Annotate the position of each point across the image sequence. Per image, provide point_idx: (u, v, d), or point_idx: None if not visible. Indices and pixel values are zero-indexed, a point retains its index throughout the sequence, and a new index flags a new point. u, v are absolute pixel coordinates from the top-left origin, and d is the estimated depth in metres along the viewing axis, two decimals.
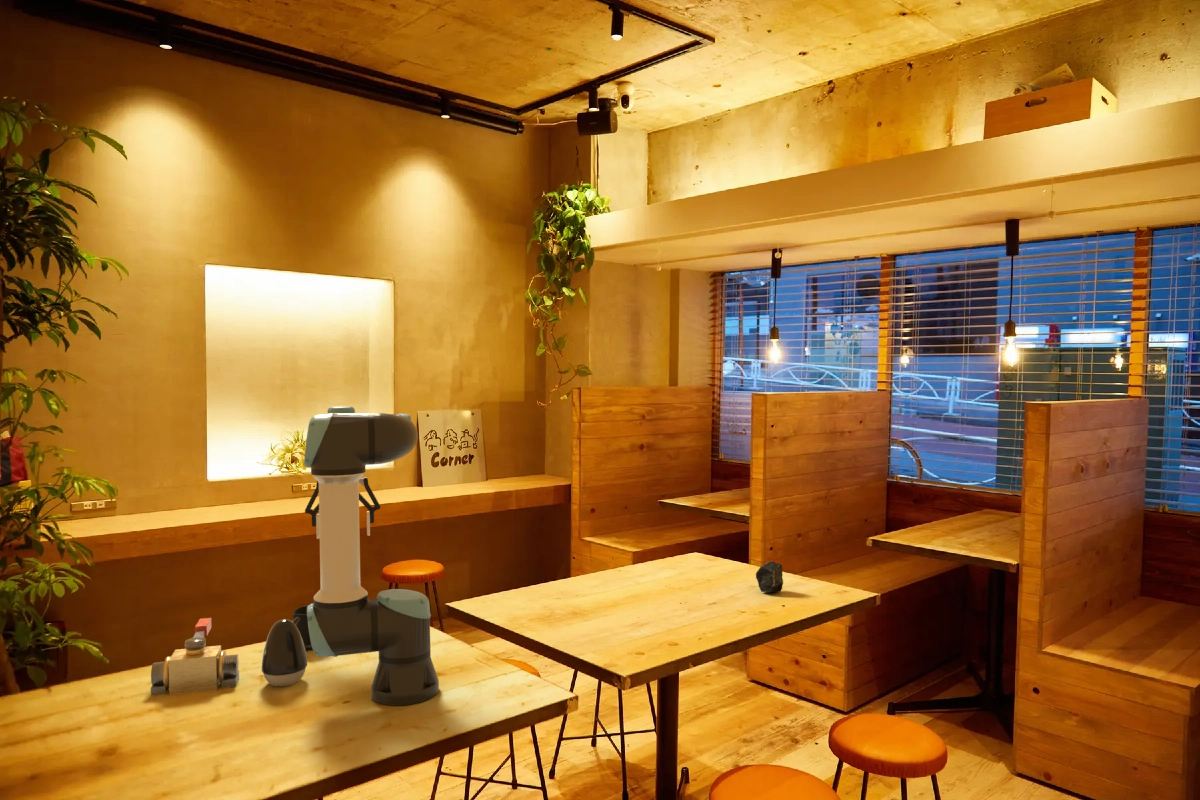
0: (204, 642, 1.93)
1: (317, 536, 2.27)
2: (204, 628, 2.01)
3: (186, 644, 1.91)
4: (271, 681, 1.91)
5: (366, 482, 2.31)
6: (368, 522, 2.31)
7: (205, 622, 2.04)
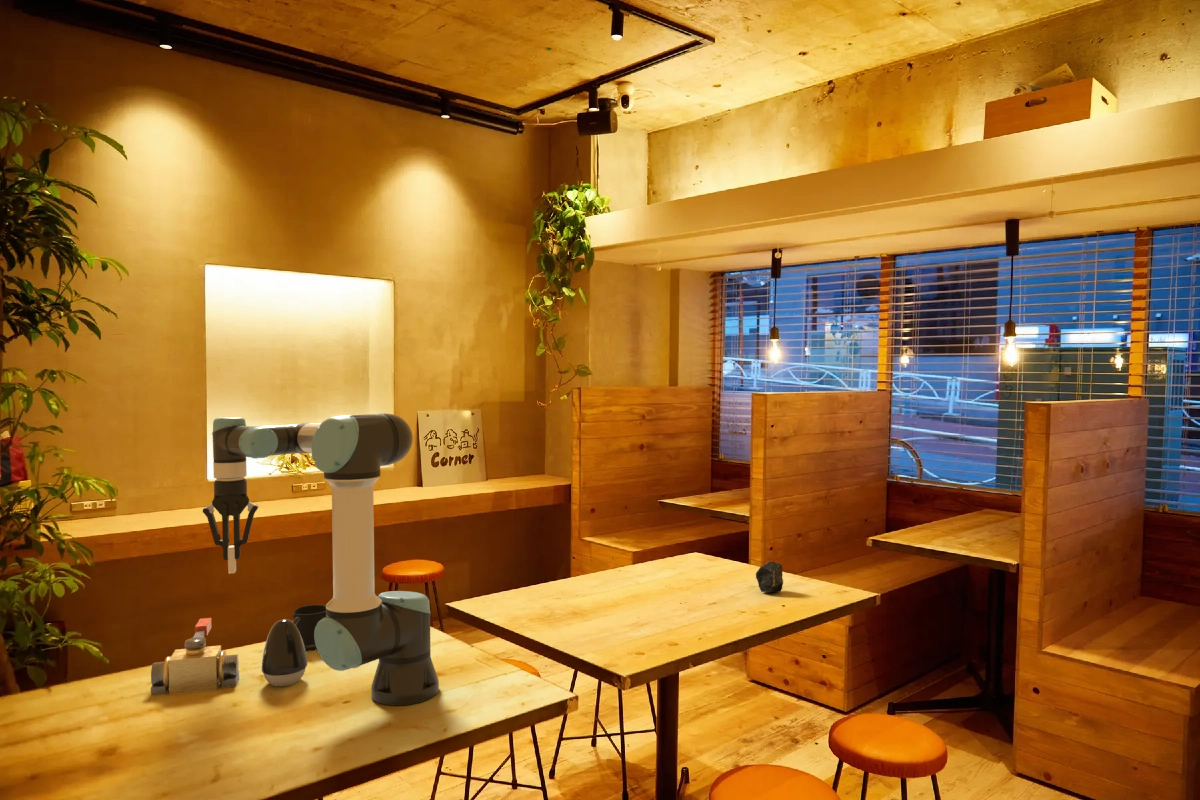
0: (204, 642, 1.93)
1: (229, 570, 2.04)
2: (204, 628, 2.01)
3: (186, 644, 1.91)
4: (271, 681, 1.91)
5: (253, 510, 2.05)
6: (232, 558, 2.04)
7: (205, 622, 2.04)
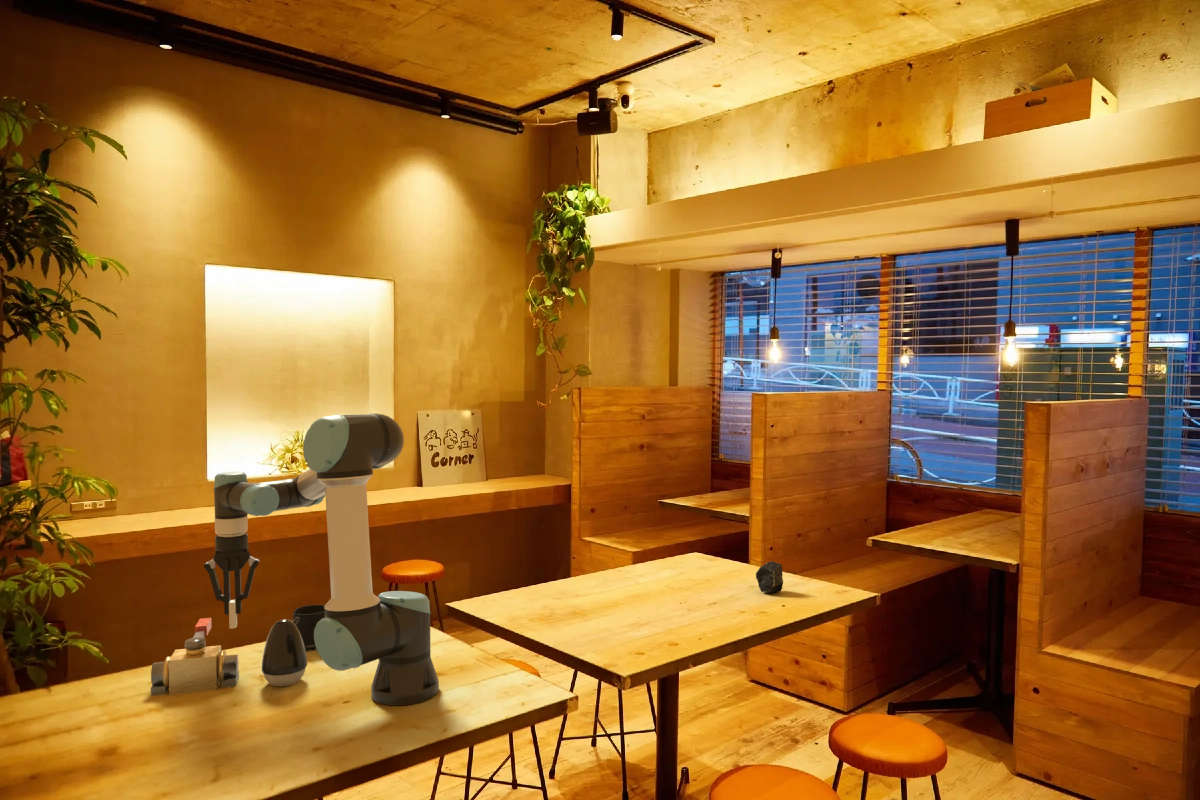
0: (204, 642, 1.93)
1: (230, 625, 2.04)
2: (204, 628, 2.01)
3: (186, 644, 1.91)
4: (271, 681, 1.91)
5: (254, 565, 2.06)
6: (233, 613, 2.04)
7: (205, 622, 2.04)
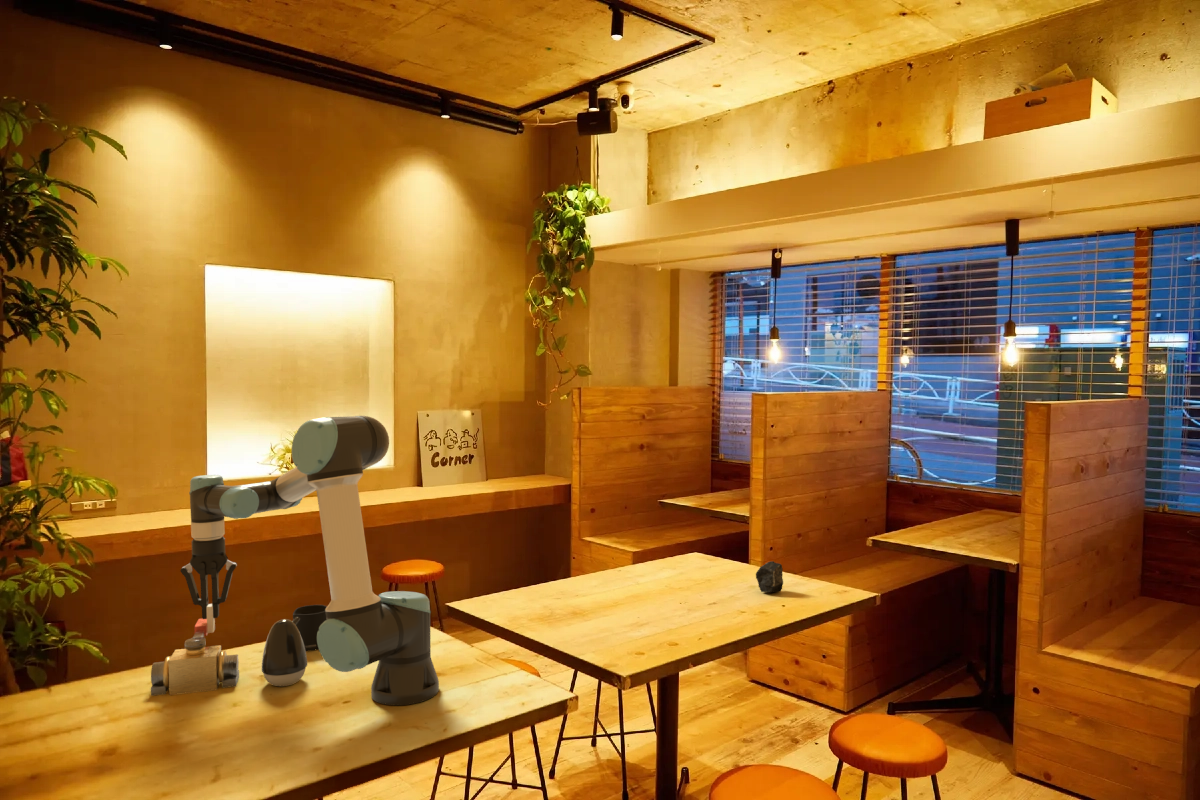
0: (204, 642, 1.93)
1: (208, 630, 2.03)
2: (203, 628, 2.01)
3: (186, 644, 1.91)
4: (271, 681, 1.91)
5: (232, 569, 2.04)
6: (211, 617, 2.03)
7: (204, 622, 2.04)
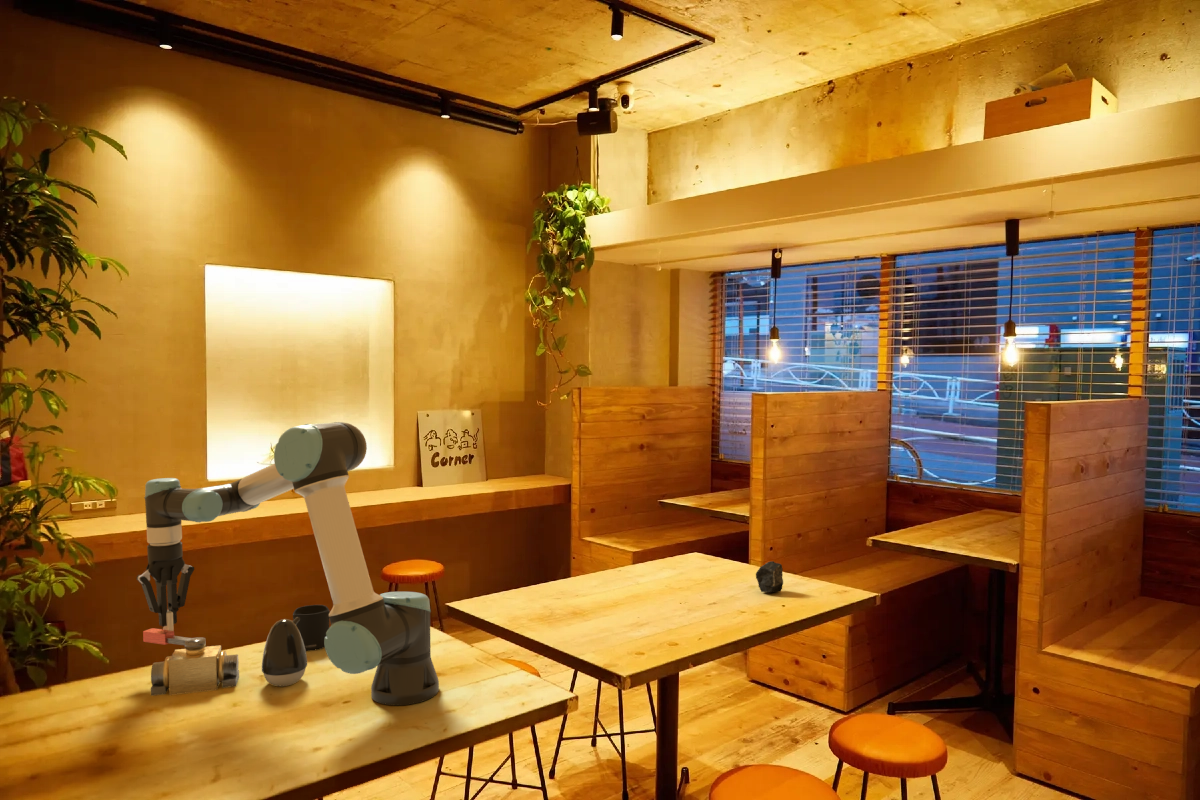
0: None
1: None
2: (172, 634, 1.97)
3: (194, 644, 1.91)
4: (271, 681, 1.91)
5: (190, 572, 2.02)
6: (171, 623, 1.98)
7: (162, 630, 1.97)
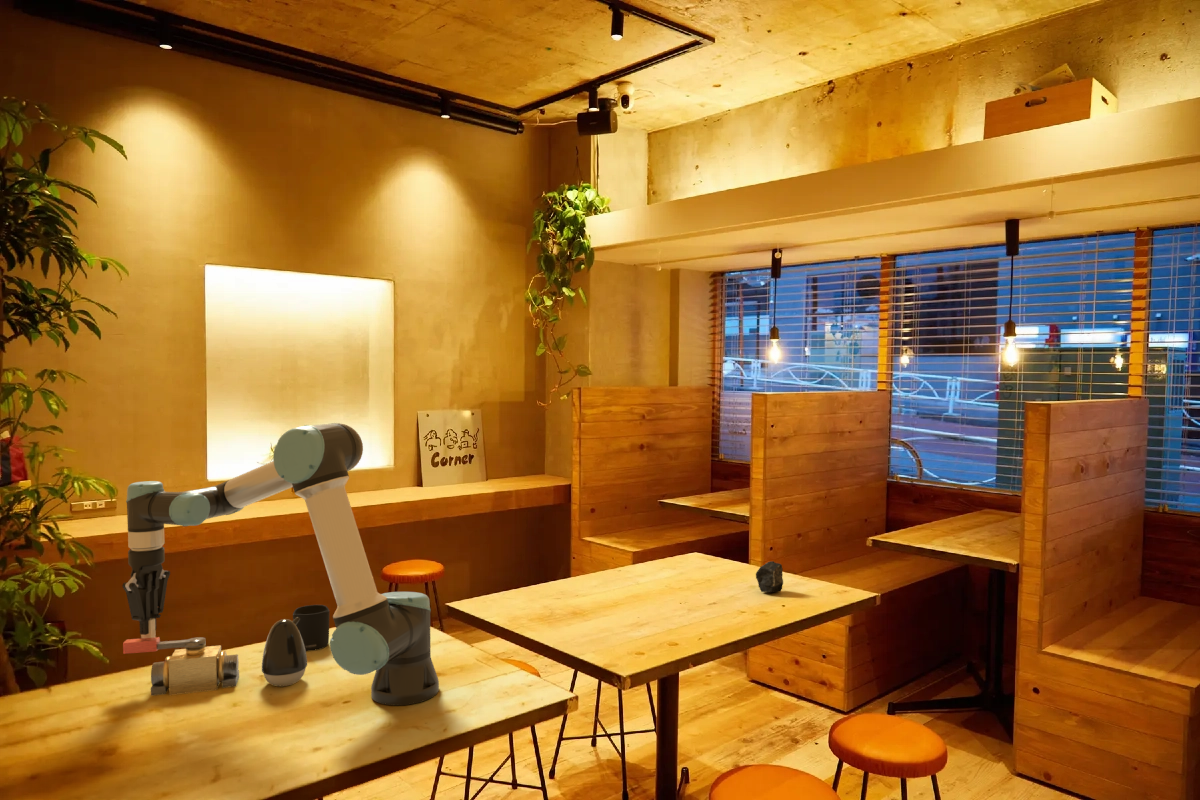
0: None
1: None
2: (159, 640, 1.92)
3: (200, 643, 1.92)
4: (271, 681, 1.91)
5: (167, 576, 1.98)
6: (154, 630, 1.93)
7: (144, 639, 1.91)
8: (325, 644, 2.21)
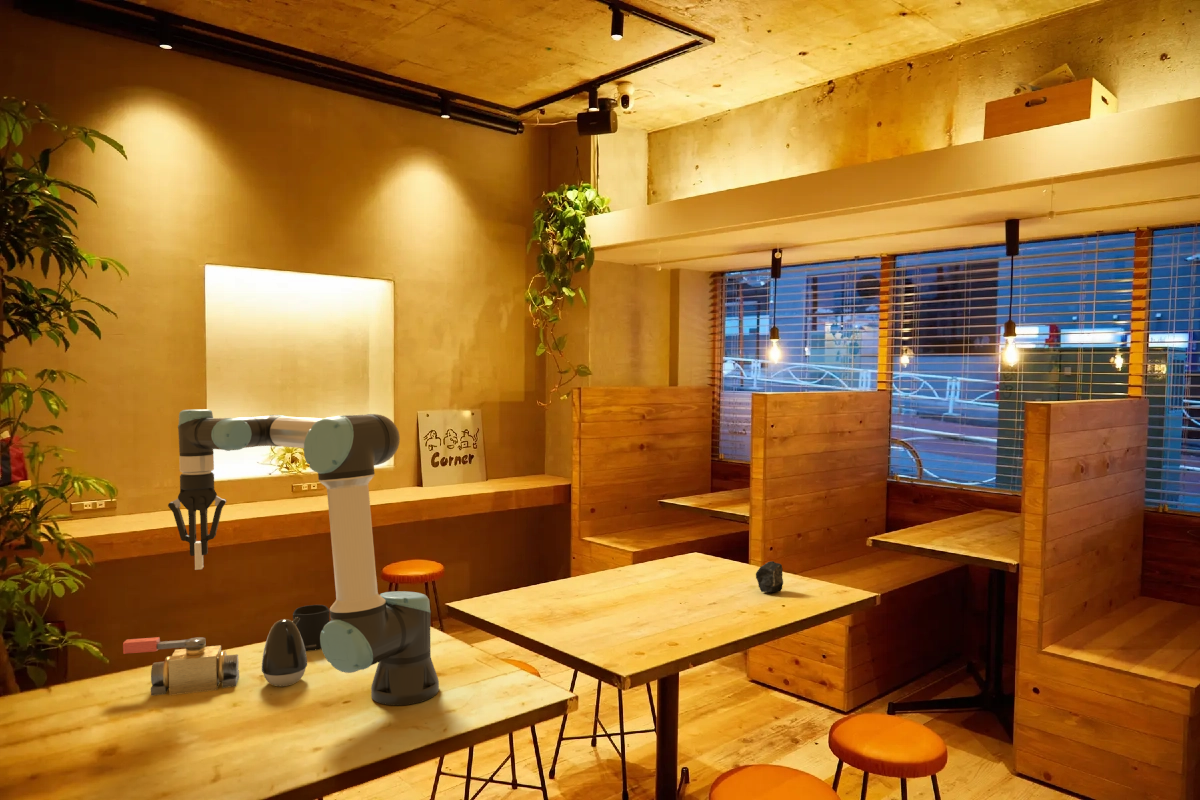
0: None
1: (196, 567, 1.99)
2: (159, 640, 1.92)
3: (200, 643, 1.92)
4: (271, 681, 1.91)
5: (221, 505, 2.00)
6: (199, 554, 1.99)
7: (144, 639, 1.91)
8: None
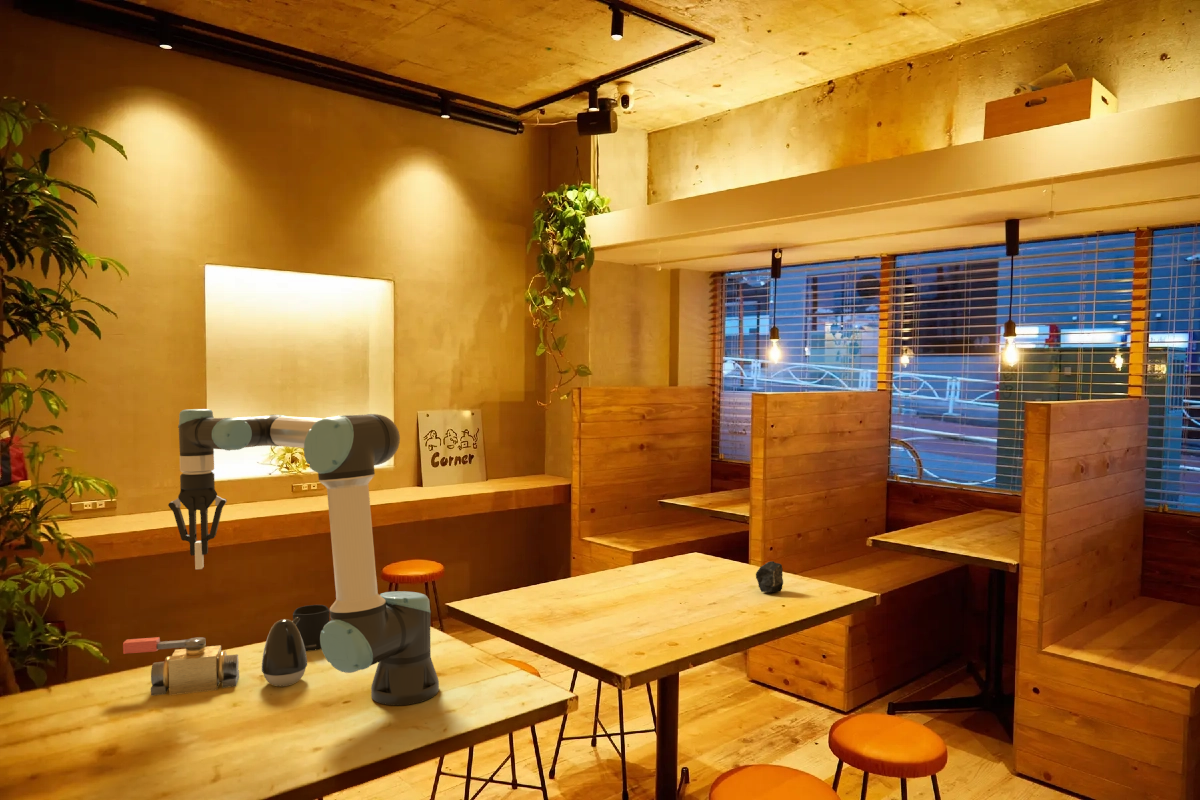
0: None
1: (196, 566, 1.99)
2: (159, 640, 1.92)
3: (200, 643, 1.92)
4: (271, 681, 1.91)
5: (221, 505, 2.00)
6: (199, 554, 1.99)
7: (144, 639, 1.91)
8: None
